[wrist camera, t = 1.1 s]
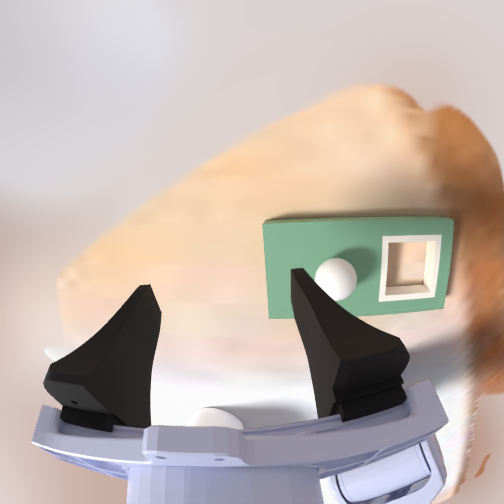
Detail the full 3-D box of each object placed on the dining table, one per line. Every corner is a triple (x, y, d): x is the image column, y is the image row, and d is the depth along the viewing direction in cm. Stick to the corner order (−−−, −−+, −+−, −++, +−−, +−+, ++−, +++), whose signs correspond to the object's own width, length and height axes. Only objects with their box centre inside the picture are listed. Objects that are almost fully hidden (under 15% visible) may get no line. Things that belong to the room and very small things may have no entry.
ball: (352, 289, 23) (359, 307, 20) (314, 291, 24) (315, 309, 21) (353, 252, 23) (361, 264, 19) (313, 253, 23) (315, 266, 20)
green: (435, 300, 24) (443, 308, 22) (271, 309, 27) (269, 318, 26) (444, 216, 22) (453, 219, 20) (265, 220, 25) (262, 224, 23)
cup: (254, 437, 34) (241, 491, 24) (190, 441, 37) (170, 485, 27) (229, 402, 32) (207, 461, 23) (163, 409, 36) (135, 455, 26)
